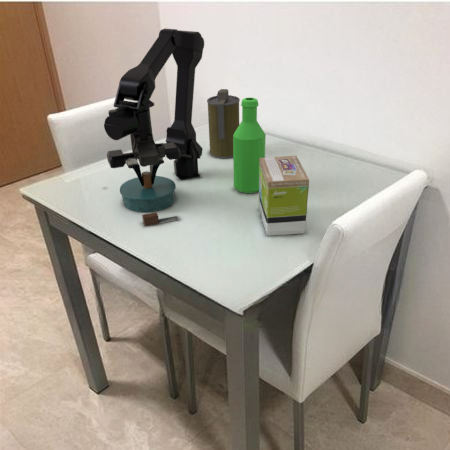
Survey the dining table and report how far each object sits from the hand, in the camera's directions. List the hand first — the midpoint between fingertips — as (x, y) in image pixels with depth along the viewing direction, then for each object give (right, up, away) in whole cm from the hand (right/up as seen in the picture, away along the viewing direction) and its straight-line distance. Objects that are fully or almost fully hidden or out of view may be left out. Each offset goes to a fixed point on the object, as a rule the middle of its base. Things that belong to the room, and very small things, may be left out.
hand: (147, 185), depth 136 cm
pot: (0, -4, +3) cm, 5 cm away
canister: (+21, +18, +31) cm, 41 cm away
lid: (0, -1, +1) cm, 1 cm away
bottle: (+28, +1, +8) cm, 30 cm away
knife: (+5, -11, -7) cm, 14 cm away
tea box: (+36, -12, -8) cm, 39 cm away
